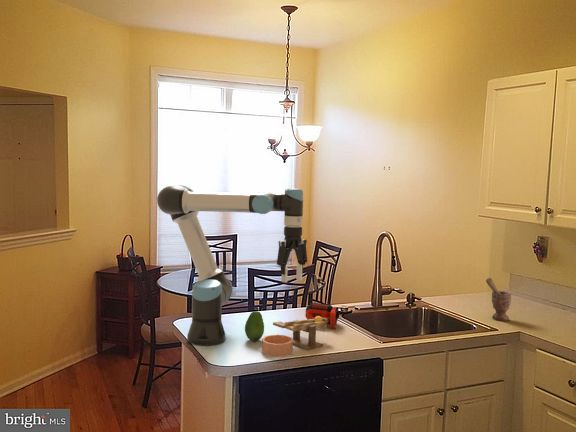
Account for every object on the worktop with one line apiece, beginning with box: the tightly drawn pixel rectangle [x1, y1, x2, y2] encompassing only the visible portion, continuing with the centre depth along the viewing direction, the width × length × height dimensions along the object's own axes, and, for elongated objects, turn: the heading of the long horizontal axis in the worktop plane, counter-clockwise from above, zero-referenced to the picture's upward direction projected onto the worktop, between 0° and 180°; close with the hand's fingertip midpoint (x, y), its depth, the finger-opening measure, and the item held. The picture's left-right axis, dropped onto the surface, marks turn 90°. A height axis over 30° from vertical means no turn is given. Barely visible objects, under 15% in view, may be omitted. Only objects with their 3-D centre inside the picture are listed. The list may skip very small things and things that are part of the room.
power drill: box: [304, 302, 340, 329], centre depth 240 cm, size 15×9×15 cm
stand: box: [291, 319, 324, 351], centre depth 212 cm, size 8×13×8 cm, turn 41°
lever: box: [272, 317, 328, 333], centre depth 214 cm, size 19×12×4 cm, turn 131°
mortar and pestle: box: [485, 277, 512, 322], centre depth 256 cm, size 12×9×20 cm
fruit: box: [244, 310, 265, 342], centre depth 215 cm, size 8×8×12 cm
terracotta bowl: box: [261, 334, 294, 357], centre depth 203 cm, size 12×12×4 cm
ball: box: [315, 316, 322, 322], centre depth 217 cm, size 3×3×3 cm
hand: (291, 280), depth 221 cm, fingers open, 8 cm apart
